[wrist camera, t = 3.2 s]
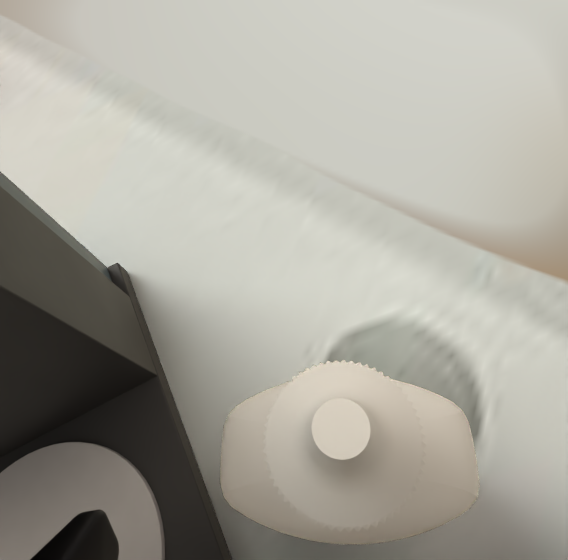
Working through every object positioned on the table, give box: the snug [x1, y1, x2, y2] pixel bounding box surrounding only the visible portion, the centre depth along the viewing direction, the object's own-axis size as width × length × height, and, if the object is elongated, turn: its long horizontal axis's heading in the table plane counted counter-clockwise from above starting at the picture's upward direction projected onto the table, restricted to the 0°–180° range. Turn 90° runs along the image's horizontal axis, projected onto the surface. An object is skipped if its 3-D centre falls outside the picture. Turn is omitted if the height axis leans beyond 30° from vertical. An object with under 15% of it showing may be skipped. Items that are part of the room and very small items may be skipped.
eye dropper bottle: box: [220, 360, 480, 545], centre depth 10 cm, size 4×6×12 cm
